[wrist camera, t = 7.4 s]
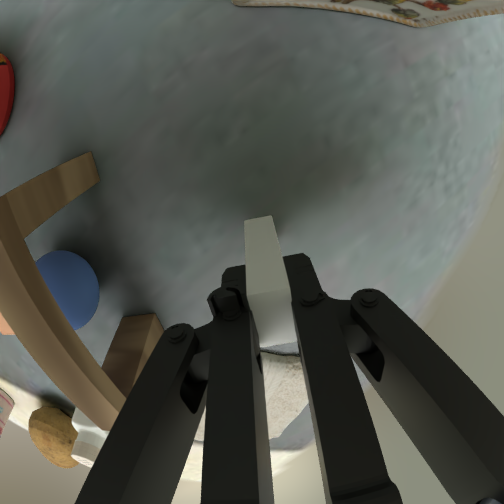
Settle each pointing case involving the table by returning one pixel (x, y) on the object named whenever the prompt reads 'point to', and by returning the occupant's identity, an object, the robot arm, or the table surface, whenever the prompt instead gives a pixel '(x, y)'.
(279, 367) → the washcloth
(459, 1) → the decorative jar
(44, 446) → the potato
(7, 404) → the beverage can
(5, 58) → the canned food
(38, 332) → the bridge
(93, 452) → the salt shaker
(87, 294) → the ball
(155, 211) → the table surface
